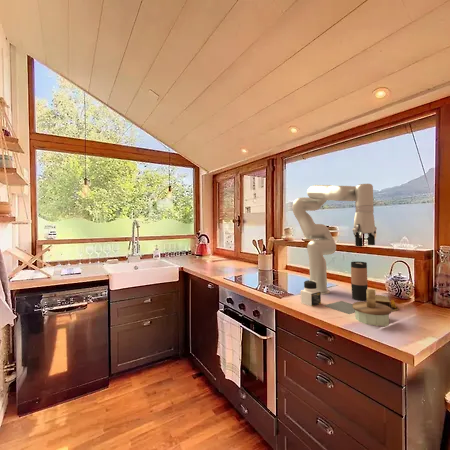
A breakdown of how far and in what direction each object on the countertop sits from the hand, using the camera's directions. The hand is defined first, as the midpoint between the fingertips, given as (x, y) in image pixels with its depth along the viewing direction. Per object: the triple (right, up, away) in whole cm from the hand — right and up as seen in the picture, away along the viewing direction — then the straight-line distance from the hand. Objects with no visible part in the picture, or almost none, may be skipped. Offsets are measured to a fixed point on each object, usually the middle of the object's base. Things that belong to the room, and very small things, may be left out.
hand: (365, 245), depth 119 cm
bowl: (-6, -31, -15) cm, 34 cm away
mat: (-9, -31, +1) cm, 32 cm away
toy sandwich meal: (+8, -31, +1) cm, 32 cm away
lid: (-6, -26, -15) cm, 30 cm away
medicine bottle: (-23, -31, +8) cm, 40 cm away
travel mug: (+5, -30, +14) cm, 34 cm away
